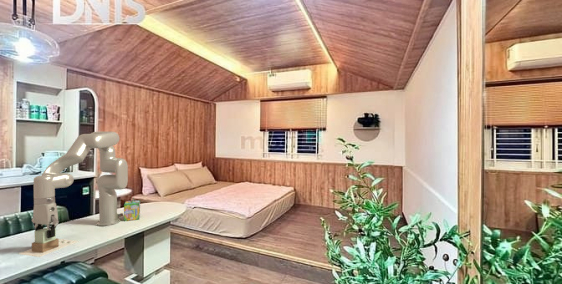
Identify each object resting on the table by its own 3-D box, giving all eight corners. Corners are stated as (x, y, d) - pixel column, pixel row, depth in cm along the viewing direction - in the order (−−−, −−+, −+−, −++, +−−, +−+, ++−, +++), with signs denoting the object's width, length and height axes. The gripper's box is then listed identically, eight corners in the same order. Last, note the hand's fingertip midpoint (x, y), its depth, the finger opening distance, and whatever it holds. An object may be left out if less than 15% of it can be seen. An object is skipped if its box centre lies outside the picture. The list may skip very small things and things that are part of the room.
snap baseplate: (58, 240, 137) (58, 237, 137) (79, 243, 133) (79, 240, 133) (17, 255, 119) (17, 252, 119) (39, 259, 116) (39, 255, 116)
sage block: (47, 238, 128) (47, 227, 127) (55, 239, 126) (55, 228, 126) (34, 242, 122) (34, 231, 122) (43, 243, 121) (43, 232, 121)
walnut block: (48, 245, 129) (48, 237, 128) (58, 246, 127) (58, 238, 127) (31, 251, 122) (31, 243, 122) (42, 252, 120) (42, 244, 120)
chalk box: (125, 217, 176) (125, 196, 175) (140, 215, 180) (140, 195, 179) (123, 221, 167) (123, 199, 167) (139, 219, 171) (139, 198, 171)
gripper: (66, 199, 125) (67, 235, 126) (40, 197, 130) (40, 232, 130) (49, 203, 118) (50, 241, 119) (22, 201, 122) (23, 237, 123)
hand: (45, 236), depth 124 cm, fingers open, 7 cm apart
